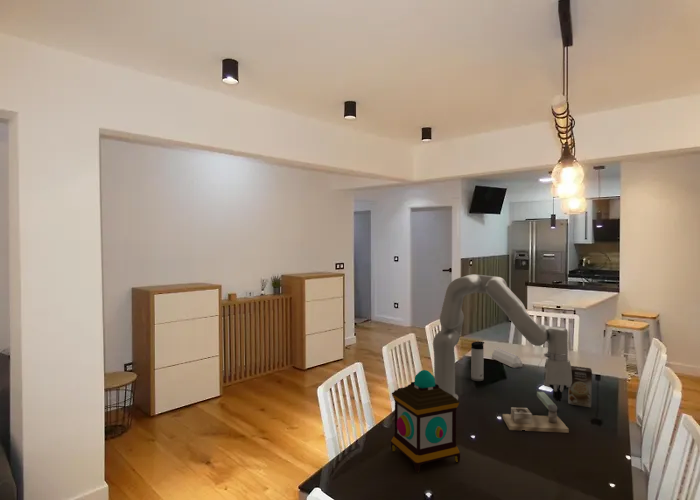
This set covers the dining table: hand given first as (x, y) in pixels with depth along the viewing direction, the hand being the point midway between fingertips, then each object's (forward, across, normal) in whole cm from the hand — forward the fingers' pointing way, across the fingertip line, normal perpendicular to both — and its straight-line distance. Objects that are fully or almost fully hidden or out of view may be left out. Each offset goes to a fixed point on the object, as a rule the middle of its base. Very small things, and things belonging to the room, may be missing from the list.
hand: (557, 399), depth 186 cm
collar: (+5, -17, -10) cm, 21 cm away
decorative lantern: (+7, -57, -41) cm, 71 cm away
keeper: (+1, -5, -3) cm, 6 cm away
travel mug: (+7, -25, +46) cm, 53 cm away
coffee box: (+7, +15, +16) cm, 23 cm away
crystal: (+7, -2, +80) cm, 80 cm away
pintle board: (+7, -12, -10) cm, 17 cm away
